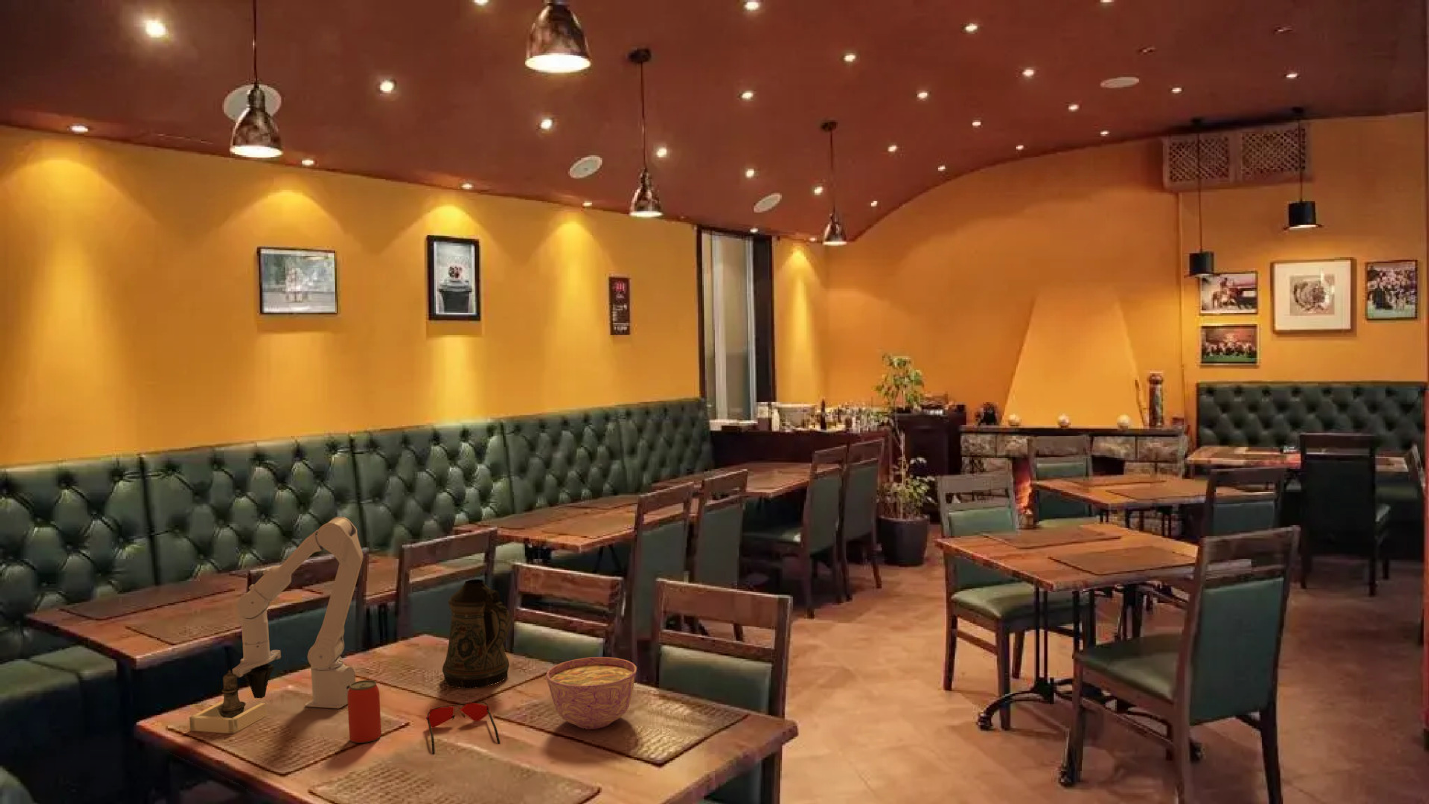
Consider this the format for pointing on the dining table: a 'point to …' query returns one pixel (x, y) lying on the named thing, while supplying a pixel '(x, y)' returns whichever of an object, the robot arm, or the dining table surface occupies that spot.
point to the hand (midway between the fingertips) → (259, 697)
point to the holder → (225, 719)
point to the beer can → (364, 711)
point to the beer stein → (476, 637)
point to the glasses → (446, 713)
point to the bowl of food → (592, 690)
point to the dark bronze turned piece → (231, 697)
